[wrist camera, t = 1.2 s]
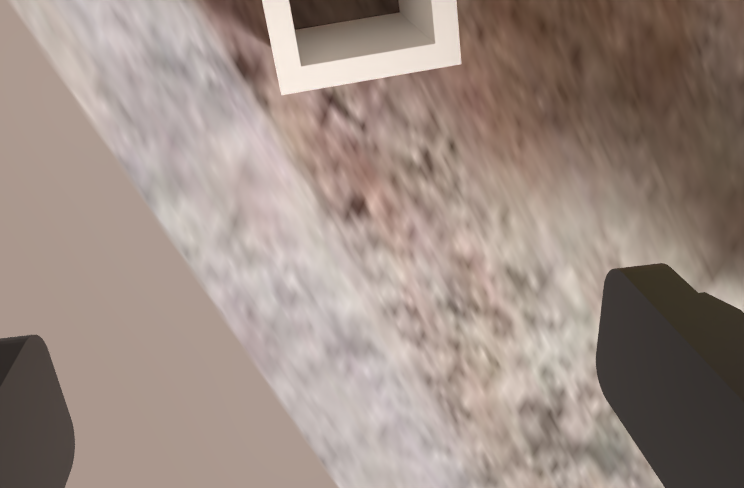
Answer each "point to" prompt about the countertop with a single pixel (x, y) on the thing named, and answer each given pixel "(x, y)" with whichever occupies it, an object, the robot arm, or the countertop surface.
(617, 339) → the robot arm
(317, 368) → the countertop surface
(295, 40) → the square tube sleeve
